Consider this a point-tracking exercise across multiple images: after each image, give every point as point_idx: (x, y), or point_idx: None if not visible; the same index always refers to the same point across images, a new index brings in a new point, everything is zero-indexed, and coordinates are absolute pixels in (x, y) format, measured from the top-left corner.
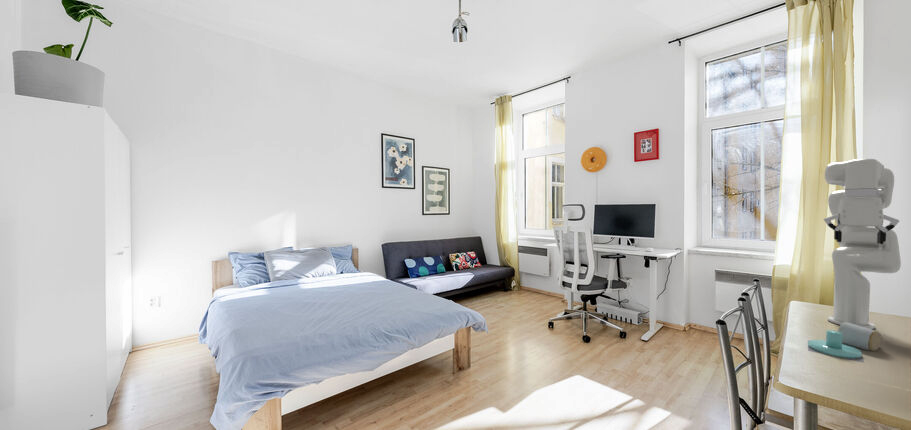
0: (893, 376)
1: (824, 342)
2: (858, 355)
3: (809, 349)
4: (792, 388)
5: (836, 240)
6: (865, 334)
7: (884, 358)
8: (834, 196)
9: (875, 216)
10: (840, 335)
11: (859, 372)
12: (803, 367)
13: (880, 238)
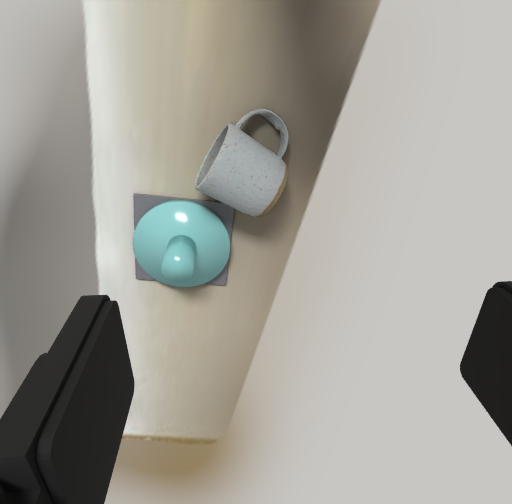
0: (255, 319)
1: (165, 223)
2: (220, 270)
3: (138, 269)
4: (122, 437)
5: (80, 305)
6: (248, 213)
7: (272, 221)
8: None
9: None
10: (188, 277)
11: (209, 333)
12: (131, 364)
13: (500, 427)
